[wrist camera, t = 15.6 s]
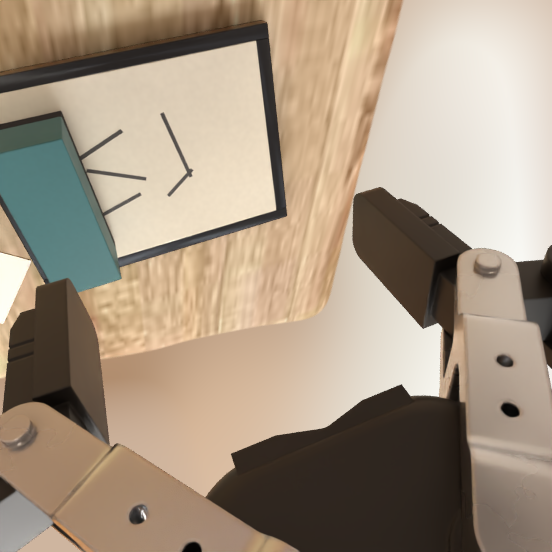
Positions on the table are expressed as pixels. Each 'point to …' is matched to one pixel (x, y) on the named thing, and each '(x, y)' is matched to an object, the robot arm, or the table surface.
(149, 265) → the table surface
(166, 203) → the whiteboard
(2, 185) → the eraser
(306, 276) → the table surface
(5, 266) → the picture card
